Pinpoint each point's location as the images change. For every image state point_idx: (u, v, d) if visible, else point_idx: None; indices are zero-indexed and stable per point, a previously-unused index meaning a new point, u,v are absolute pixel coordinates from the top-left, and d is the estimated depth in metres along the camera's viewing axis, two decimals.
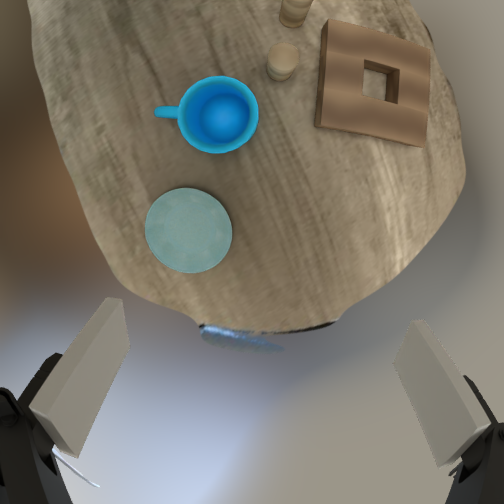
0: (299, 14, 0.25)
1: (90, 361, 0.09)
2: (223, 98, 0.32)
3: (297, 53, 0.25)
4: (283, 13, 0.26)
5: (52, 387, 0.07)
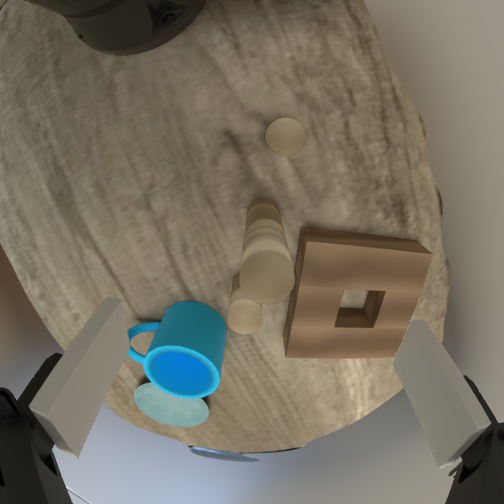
0: None
1: (90, 361, 0.09)
2: None
3: (259, 317, 0.26)
4: None
5: (52, 387, 0.07)
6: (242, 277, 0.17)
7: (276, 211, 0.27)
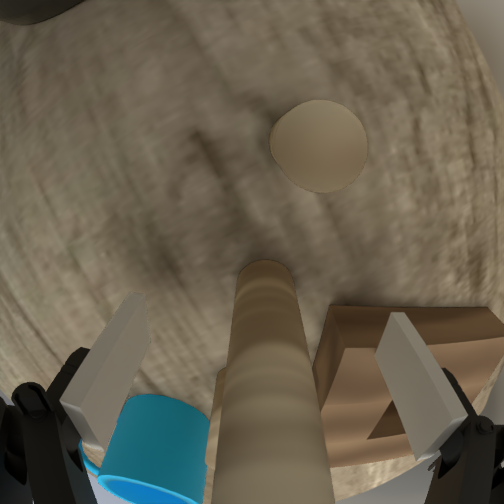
0: None
1: (118, 354, 0.09)
2: None
3: None
4: None
5: (83, 380, 0.07)
6: None
7: (291, 295, 0.14)
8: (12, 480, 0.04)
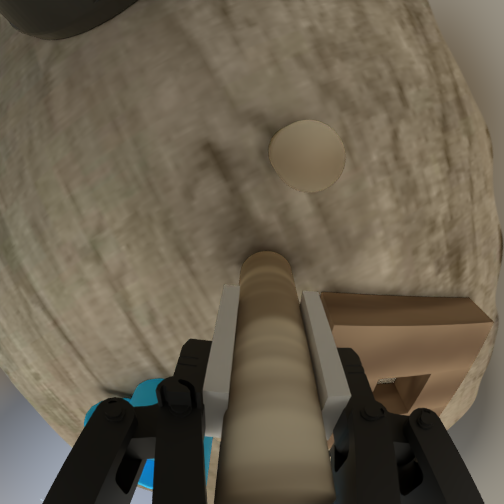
0: None
1: (234, 341, 0.11)
2: None
3: None
4: None
5: (219, 367, 0.09)
6: (220, 503, 0.05)
7: (290, 281, 0.15)
8: (117, 490, 0.05)
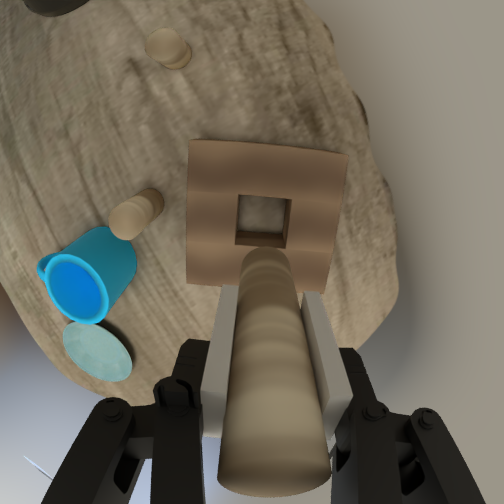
0: None
1: (232, 341, 0.11)
2: None
3: (137, 218, 0.24)
4: None
5: (217, 367, 0.09)
6: (223, 477, 0.06)
7: (288, 274, 0.16)
8: (116, 490, 0.05)
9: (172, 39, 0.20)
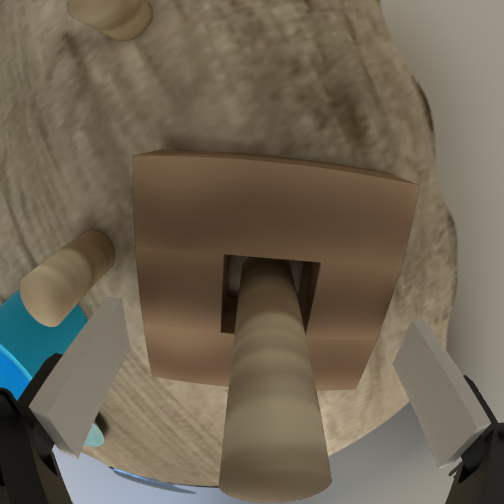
0: None
1: (90, 361, 0.09)
2: None
3: (56, 298, 0.12)
4: None
5: (52, 387, 0.07)
6: (225, 484, 0.06)
7: (289, 278, 0.16)
8: None
9: None
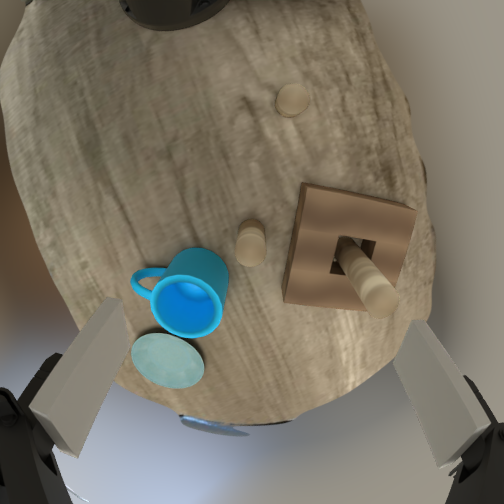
0: None
1: (90, 361, 0.09)
2: None
3: (264, 249, 0.30)
4: (339, 263, 0.34)
5: (52, 387, 0.07)
6: (370, 301, 0.24)
7: None
8: None
9: (303, 97, 0.26)
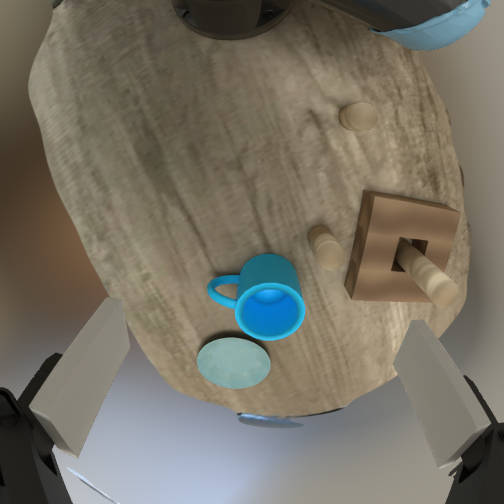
0: None
1: (90, 361, 0.09)
2: None
3: (343, 254, 0.32)
4: (398, 262, 0.36)
5: (52, 387, 0.07)
6: (437, 295, 0.26)
7: (414, 247, 0.36)
8: None
9: (372, 115, 0.28)
